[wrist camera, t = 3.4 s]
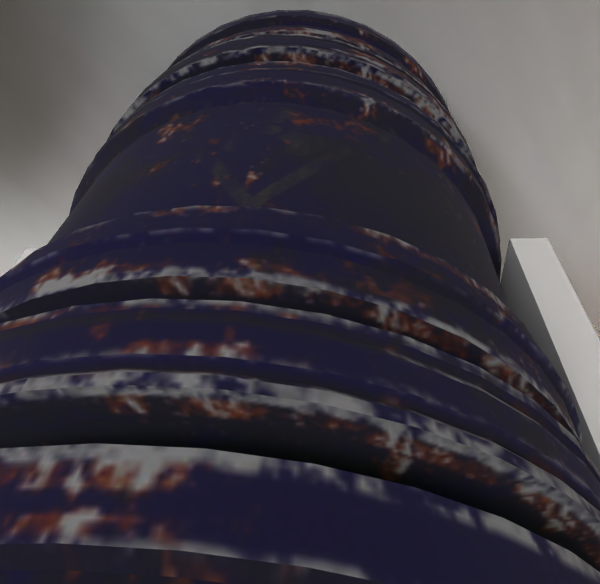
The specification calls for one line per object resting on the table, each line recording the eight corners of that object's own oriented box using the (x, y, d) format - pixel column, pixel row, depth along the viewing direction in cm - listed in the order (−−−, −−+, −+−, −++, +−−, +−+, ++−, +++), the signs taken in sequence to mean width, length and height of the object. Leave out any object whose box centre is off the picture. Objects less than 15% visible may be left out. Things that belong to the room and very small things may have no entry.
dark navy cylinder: (202, 322, 21) (19, 929, 9) (72, 58, 15) (-933, 840, 3) (474, 281, 19) (684, 1000, 7) (450, -45, 13) (1558, 1117, 1)
